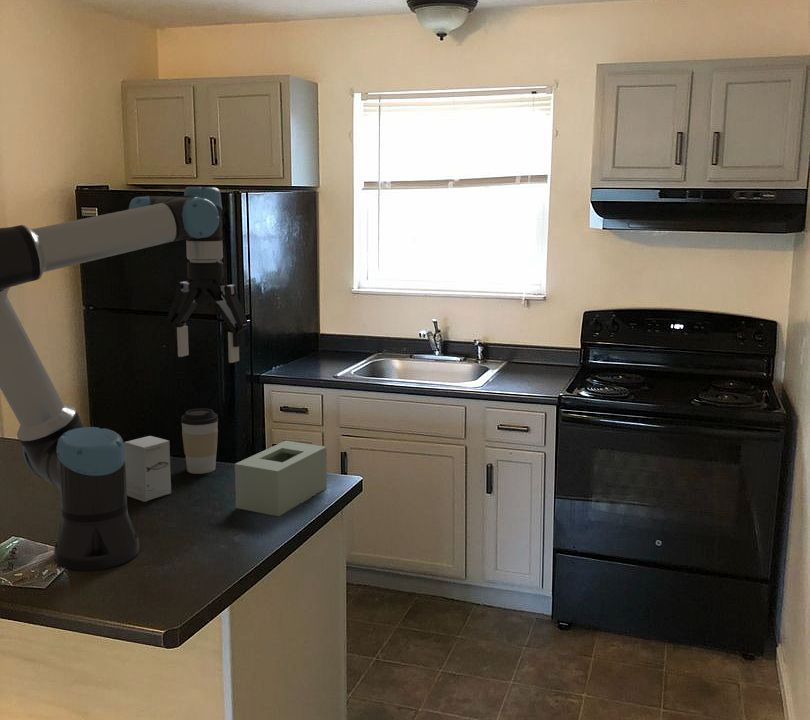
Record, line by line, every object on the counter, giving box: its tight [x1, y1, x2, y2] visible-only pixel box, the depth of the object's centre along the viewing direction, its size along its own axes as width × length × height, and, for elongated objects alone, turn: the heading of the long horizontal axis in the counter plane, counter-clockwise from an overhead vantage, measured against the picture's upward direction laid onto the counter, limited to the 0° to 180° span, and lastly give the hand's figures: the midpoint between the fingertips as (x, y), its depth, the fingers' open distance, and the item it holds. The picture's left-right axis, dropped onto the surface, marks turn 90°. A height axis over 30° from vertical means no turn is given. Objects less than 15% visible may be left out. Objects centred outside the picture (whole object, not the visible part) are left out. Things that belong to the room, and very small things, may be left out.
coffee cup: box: [180, 408, 219, 475], centre depth 216 cm, size 9×9×15 cm
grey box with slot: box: [234, 440, 328, 517], centre depth 197 cm, size 20×11×10 cm, turn 155°
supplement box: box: [123, 435, 172, 503], centre depth 198 cm, size 7×7×13 cm
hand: (208, 358), depth 192 cm, fingers open, 13 cm apart
